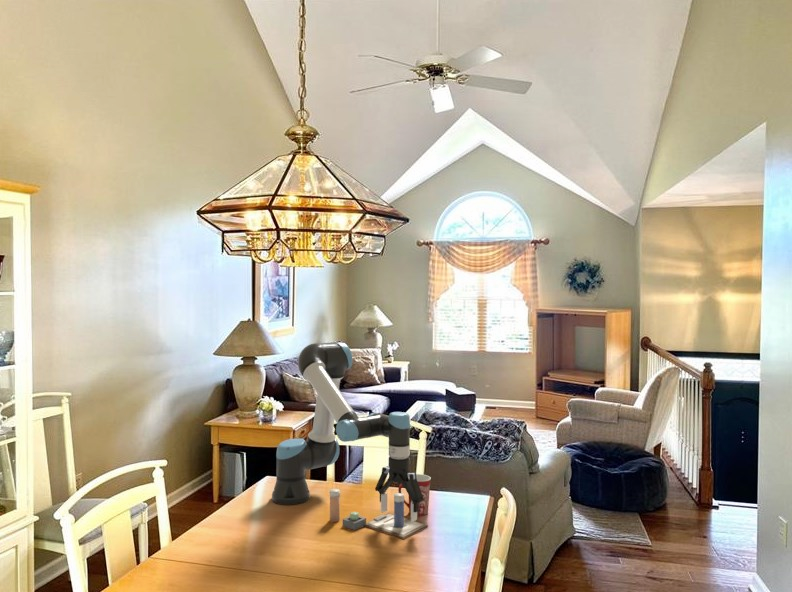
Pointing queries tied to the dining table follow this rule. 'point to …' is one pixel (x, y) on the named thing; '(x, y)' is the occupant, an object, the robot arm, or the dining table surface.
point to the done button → (354, 516)
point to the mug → (425, 489)
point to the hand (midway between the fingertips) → (398, 516)
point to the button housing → (354, 523)
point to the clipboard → (387, 526)
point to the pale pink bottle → (334, 505)
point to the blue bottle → (398, 510)
